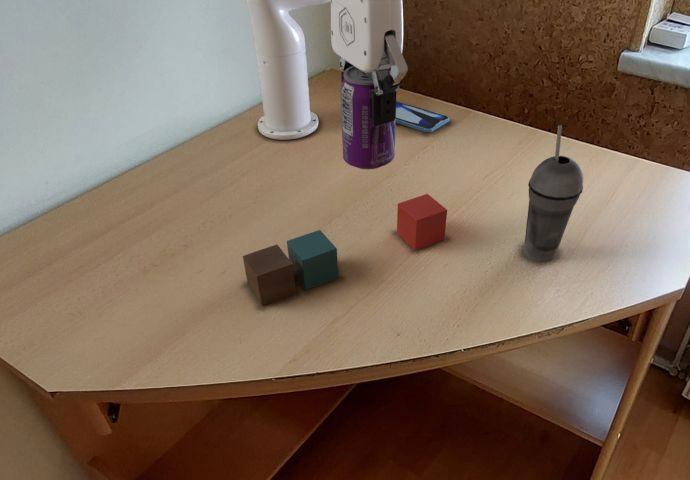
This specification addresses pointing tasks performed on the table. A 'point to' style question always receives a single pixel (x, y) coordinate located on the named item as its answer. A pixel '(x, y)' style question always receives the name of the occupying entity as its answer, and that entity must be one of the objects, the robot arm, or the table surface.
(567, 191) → the beverage cup
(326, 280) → the block
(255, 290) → the block
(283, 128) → the robot arm
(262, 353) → the table surface
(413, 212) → the block
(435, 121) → the smartphone
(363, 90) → the beverage can
